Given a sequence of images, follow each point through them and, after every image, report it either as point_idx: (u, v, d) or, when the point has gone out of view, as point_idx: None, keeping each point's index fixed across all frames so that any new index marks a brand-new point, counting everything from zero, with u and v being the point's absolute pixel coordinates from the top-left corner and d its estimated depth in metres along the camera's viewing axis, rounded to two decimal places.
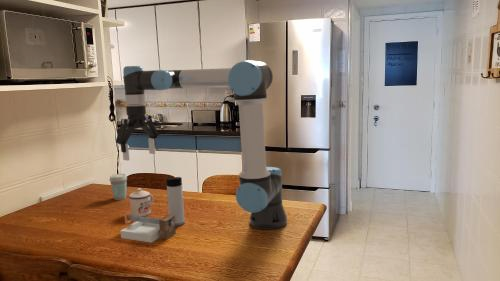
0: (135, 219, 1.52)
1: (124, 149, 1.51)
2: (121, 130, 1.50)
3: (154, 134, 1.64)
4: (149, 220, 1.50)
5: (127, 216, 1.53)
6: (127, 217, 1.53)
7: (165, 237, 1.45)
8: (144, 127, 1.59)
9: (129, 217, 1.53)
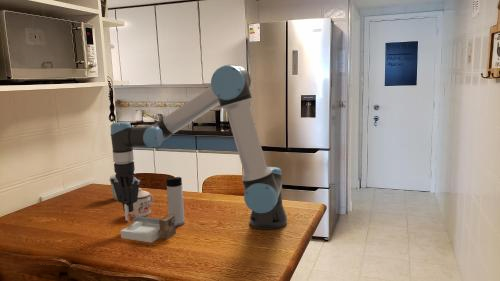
0: (138, 219, 1.51)
1: (124, 209, 1.53)
2: None
3: None
4: (152, 220, 1.49)
5: (130, 216, 1.52)
6: (130, 217, 1.52)
7: (165, 237, 1.45)
8: None
9: (132, 217, 1.52)
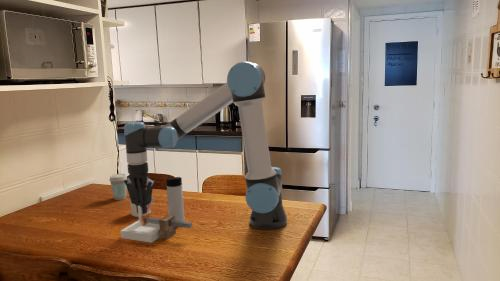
0: (152, 221, 1.49)
1: (137, 210, 1.51)
2: None
3: (144, 202, 1.49)
4: None
5: (144, 218, 1.50)
6: (144, 219, 1.50)
7: (165, 237, 1.45)
8: None
9: (146, 219, 1.50)
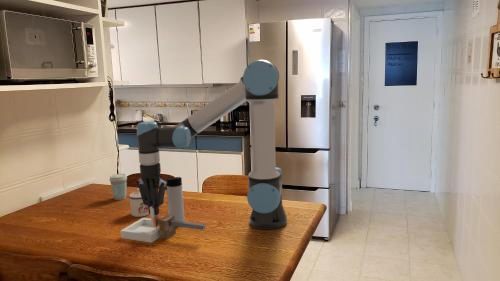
0: None
1: (149, 211, 1.49)
2: None
3: (156, 203, 1.47)
4: (179, 224, 1.44)
5: (156, 220, 1.48)
6: (156, 221, 1.48)
7: (165, 237, 1.45)
8: None
9: (158, 221, 1.48)
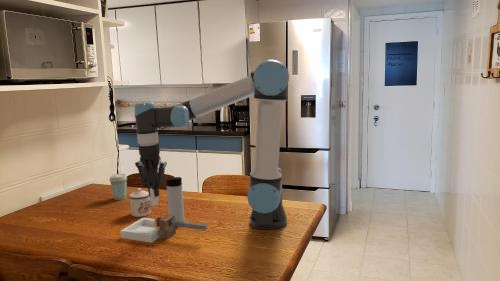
0: None
1: (149, 193, 1.47)
2: None
3: (156, 184, 1.46)
4: (181, 224, 1.44)
5: (157, 220, 1.47)
6: (157, 221, 1.47)
7: (165, 237, 1.45)
8: None
9: None
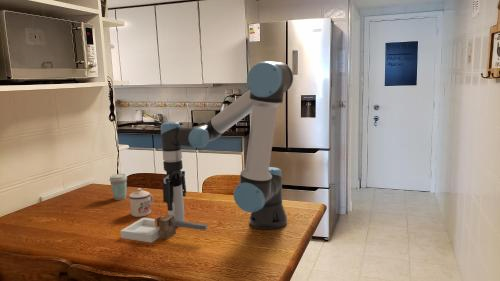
0: None
1: (171, 207, 1.55)
2: (166, 190, 1.52)
3: None
4: (181, 224, 1.44)
5: (157, 220, 1.47)
6: (157, 221, 1.47)
7: (165, 237, 1.45)
8: None
9: None
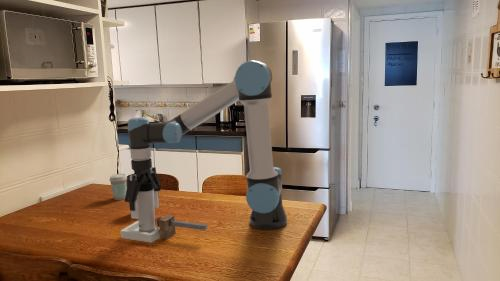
0: None
1: (133, 207, 1.43)
2: (130, 188, 1.41)
3: None
4: (181, 224, 1.44)
5: (157, 220, 1.47)
6: (157, 221, 1.47)
7: (165, 237, 1.45)
8: (149, 180, 1.51)
9: None
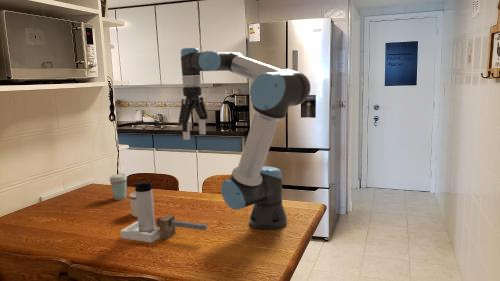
0: None
1: (186, 128, 1.56)
2: (183, 110, 1.55)
3: None
4: (181, 224, 1.44)
5: (157, 220, 1.47)
6: (157, 221, 1.47)
7: (165, 237, 1.45)
8: (198, 108, 1.65)
9: None
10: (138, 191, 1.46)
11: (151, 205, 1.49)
